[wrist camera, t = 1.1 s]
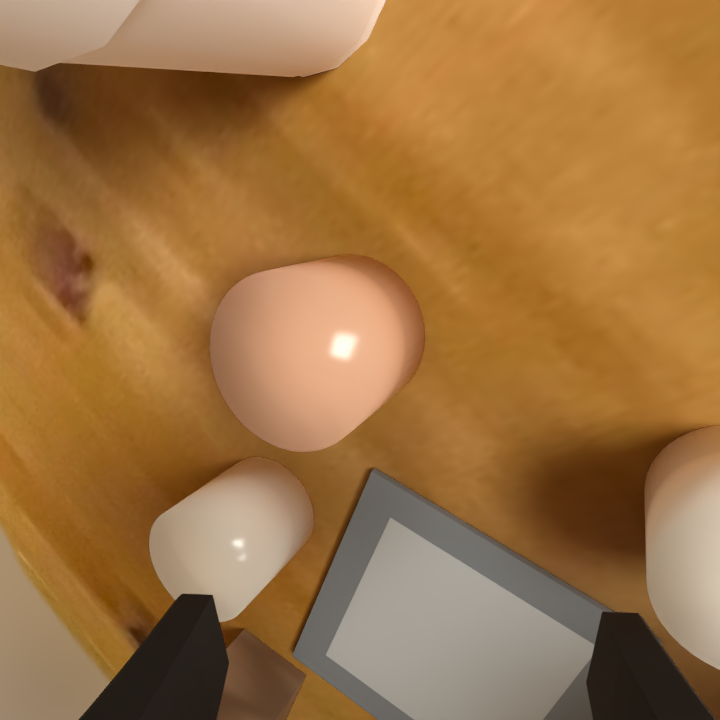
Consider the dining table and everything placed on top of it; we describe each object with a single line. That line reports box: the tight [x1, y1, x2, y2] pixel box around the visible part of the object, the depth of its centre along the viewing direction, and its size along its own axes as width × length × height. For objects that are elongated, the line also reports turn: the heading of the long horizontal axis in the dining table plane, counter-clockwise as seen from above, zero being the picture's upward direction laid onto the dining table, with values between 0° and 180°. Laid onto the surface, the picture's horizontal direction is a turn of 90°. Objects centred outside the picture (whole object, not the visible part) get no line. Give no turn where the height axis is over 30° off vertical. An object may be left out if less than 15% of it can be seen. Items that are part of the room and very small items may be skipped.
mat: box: [292, 468, 661, 720], centre depth 24 cm, size 12×12×1 cm
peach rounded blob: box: [210, 254, 425, 452], centre depth 20 cm, size 6×6×5 cm
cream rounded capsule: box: [149, 457, 314, 622], centre depth 25 cm, size 5×5×5 cm
